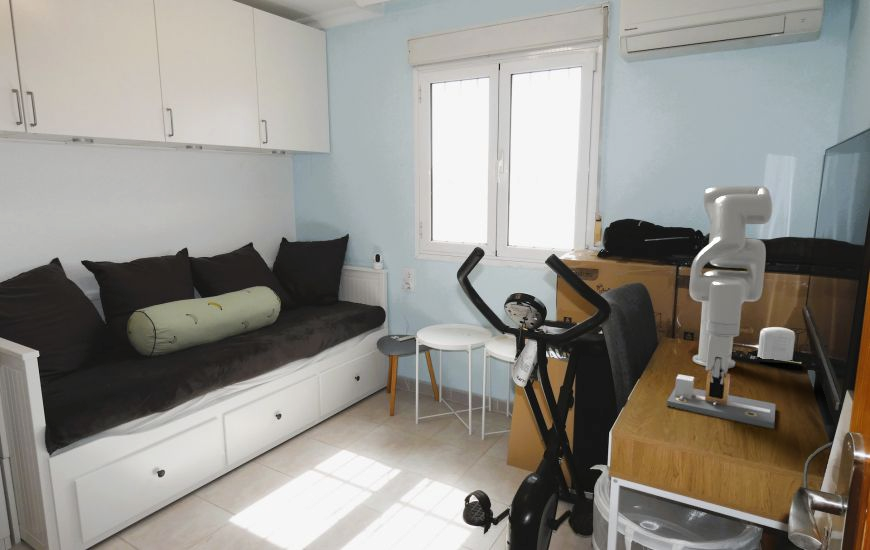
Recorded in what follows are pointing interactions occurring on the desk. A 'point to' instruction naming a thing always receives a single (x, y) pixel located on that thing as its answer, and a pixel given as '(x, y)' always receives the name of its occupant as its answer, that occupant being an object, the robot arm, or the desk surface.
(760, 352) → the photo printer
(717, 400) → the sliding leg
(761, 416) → the slide rail plate
